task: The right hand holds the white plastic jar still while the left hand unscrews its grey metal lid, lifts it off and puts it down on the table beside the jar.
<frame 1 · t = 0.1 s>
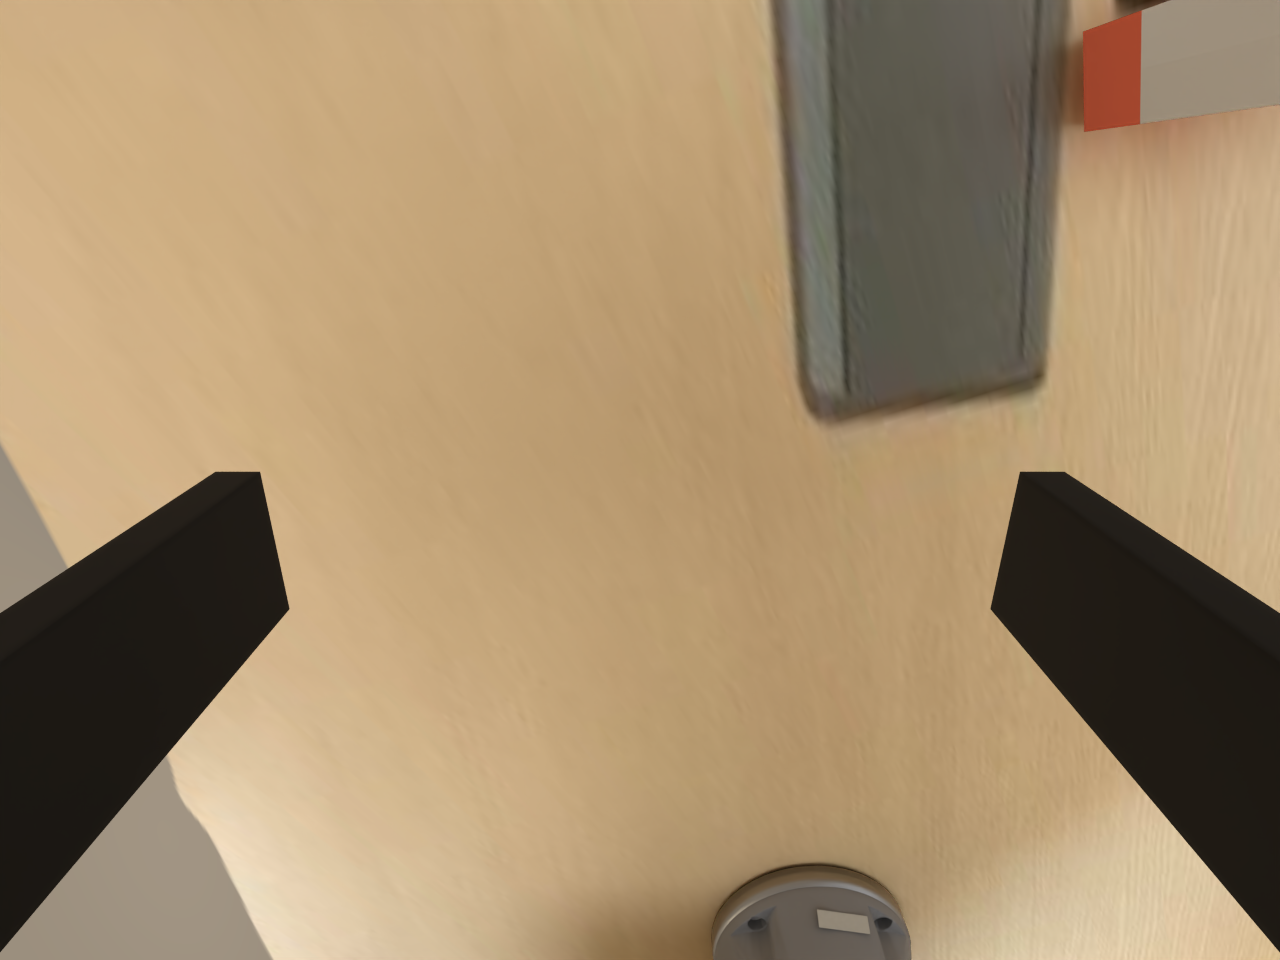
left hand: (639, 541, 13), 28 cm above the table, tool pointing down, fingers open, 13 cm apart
french fries container: (1167, 56, 34), on the table
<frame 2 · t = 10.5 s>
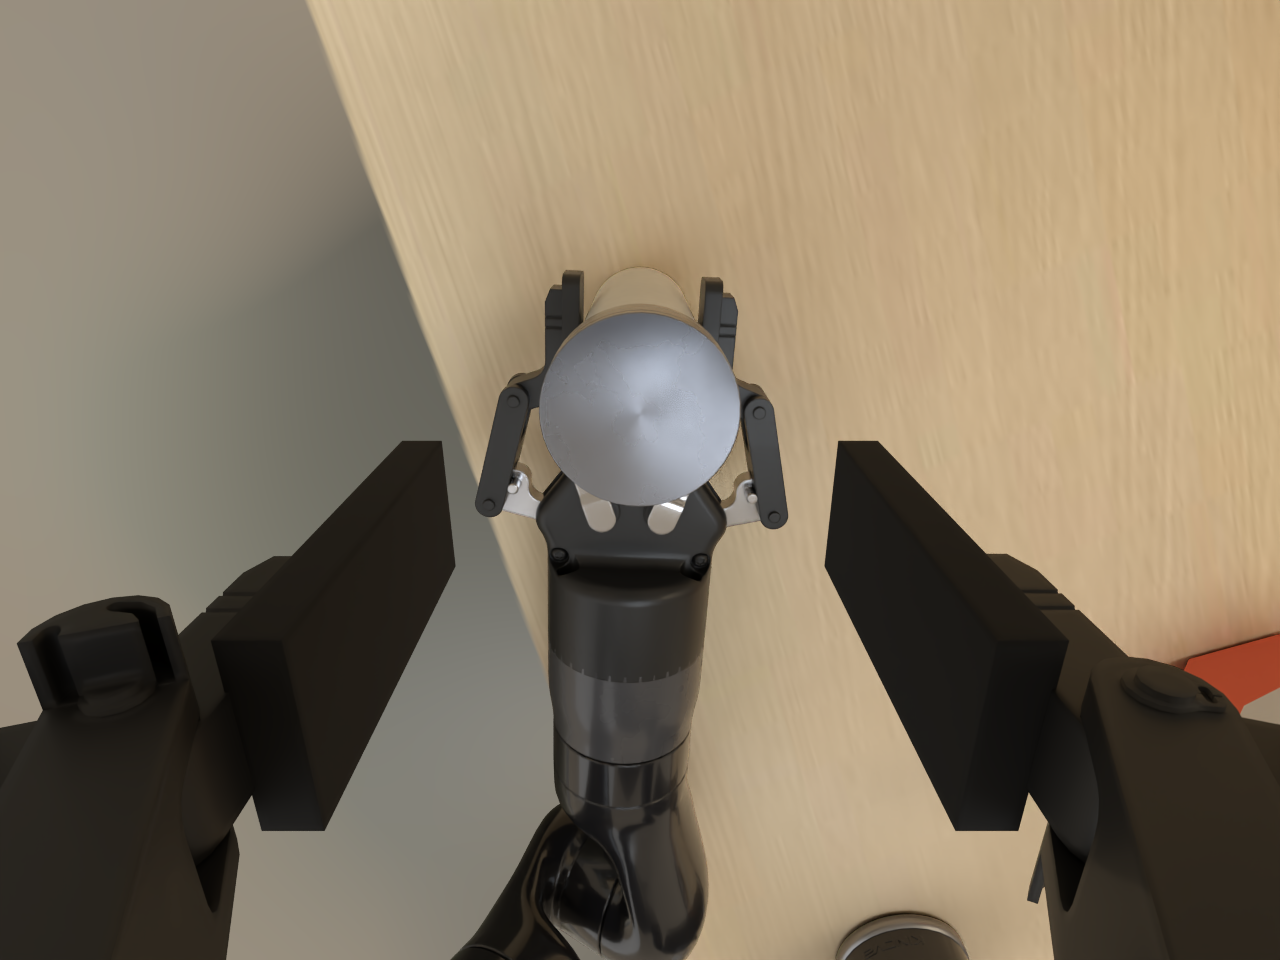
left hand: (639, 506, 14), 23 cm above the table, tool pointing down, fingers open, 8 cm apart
right hand: (642, 277, 28), fingers closed on jar, 5 cm apart
lid: (640, 411, 20), point 16 cm above the table, screwed on, not yet turned
jar: (639, 317, 35), on the table, touching right hand
french fries container: (1235, 672, 43), on the table
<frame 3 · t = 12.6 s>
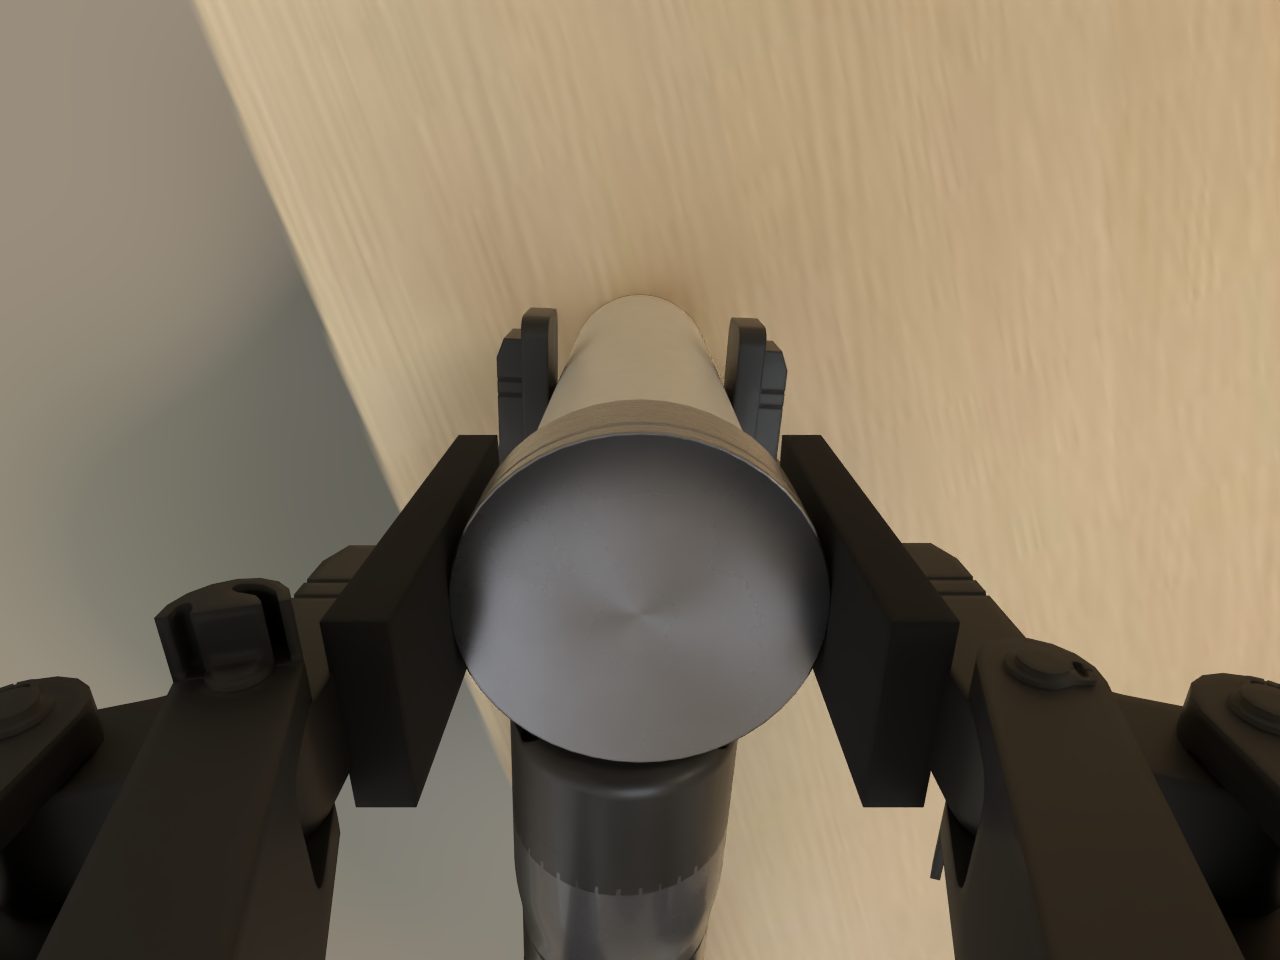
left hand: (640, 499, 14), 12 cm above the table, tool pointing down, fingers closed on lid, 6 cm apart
lid: (639, 601, 11), point 16 cm above the table, screwed on, not yet turned, touching left hand
jar: (639, 362, 26), on the table, touching right hand
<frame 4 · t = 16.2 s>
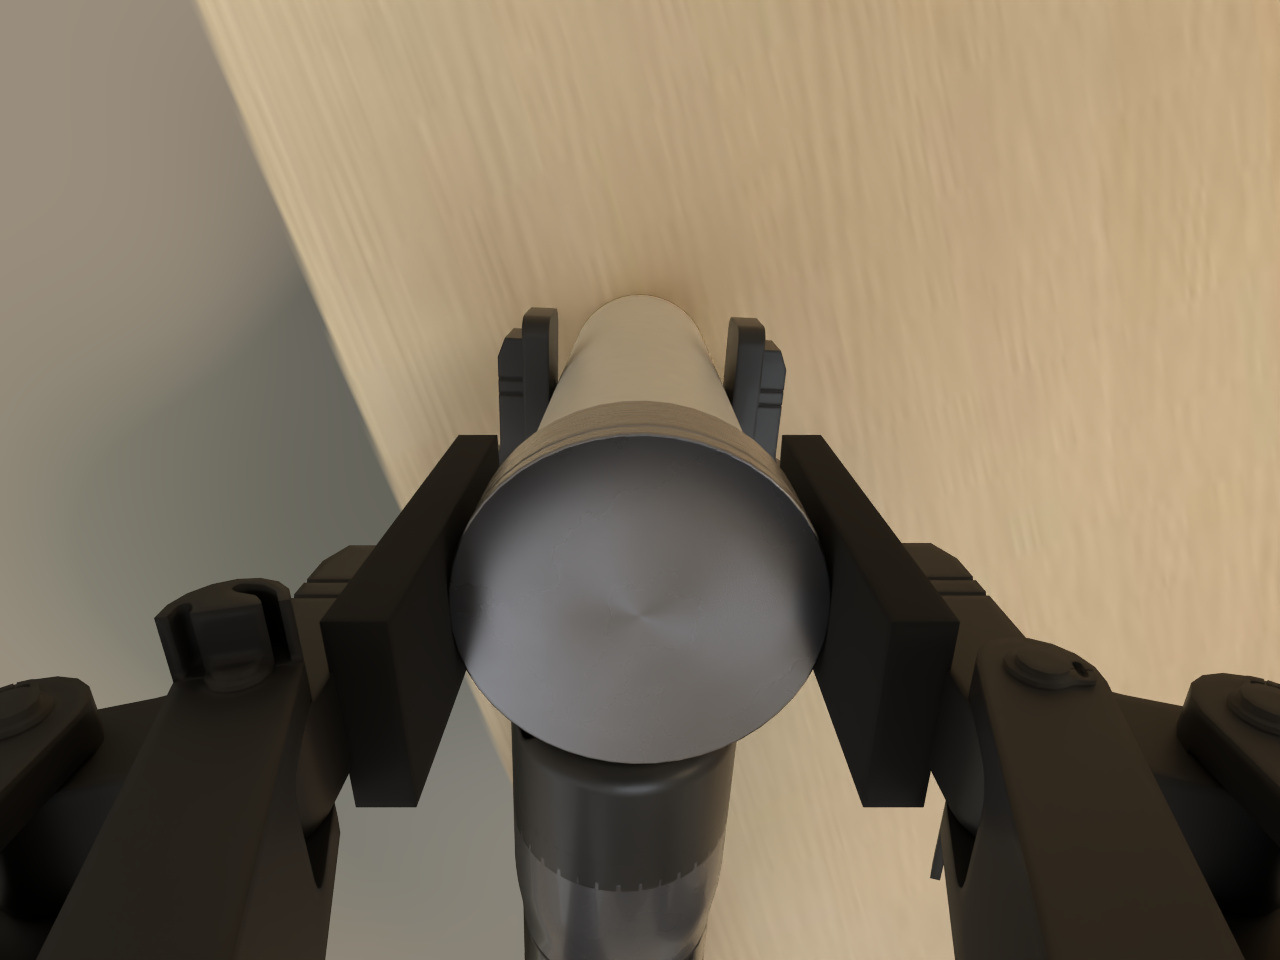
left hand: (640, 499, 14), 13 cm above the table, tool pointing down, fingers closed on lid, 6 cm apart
lid: (639, 603, 11), point 16 cm above the table, turned 118° so far, risen 0.2 cm, still on its thread, touching left hand
jar: (639, 362, 26), on the table, touching right hand
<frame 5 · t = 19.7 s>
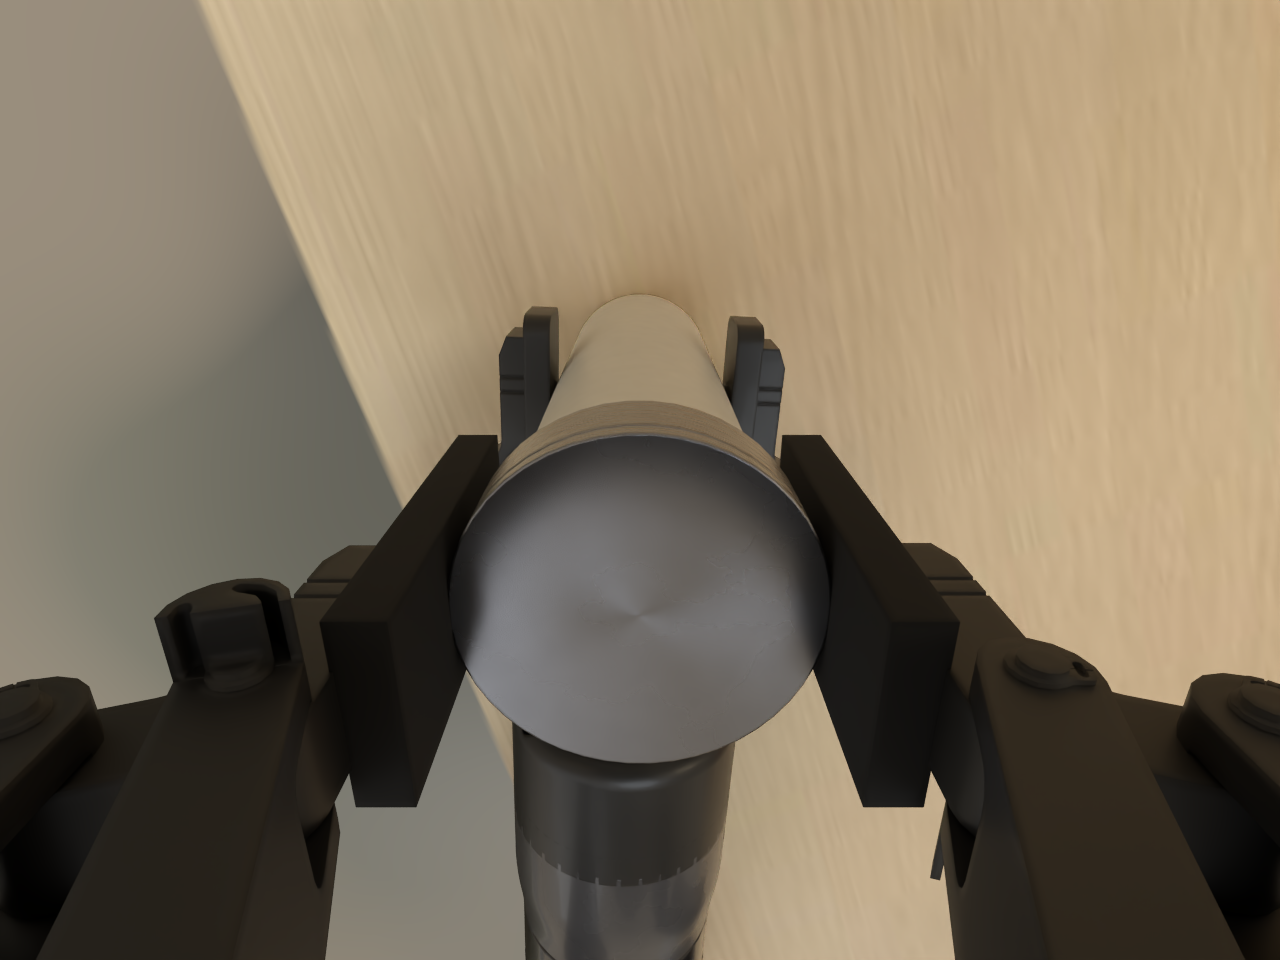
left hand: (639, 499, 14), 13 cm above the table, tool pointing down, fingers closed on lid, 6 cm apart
lid: (639, 602, 11), point 17 cm above the table, turned 237° so far, risen 0.3 cm, still on its thread, touching left hand
jar: (639, 361, 26), on the table, touching right hand
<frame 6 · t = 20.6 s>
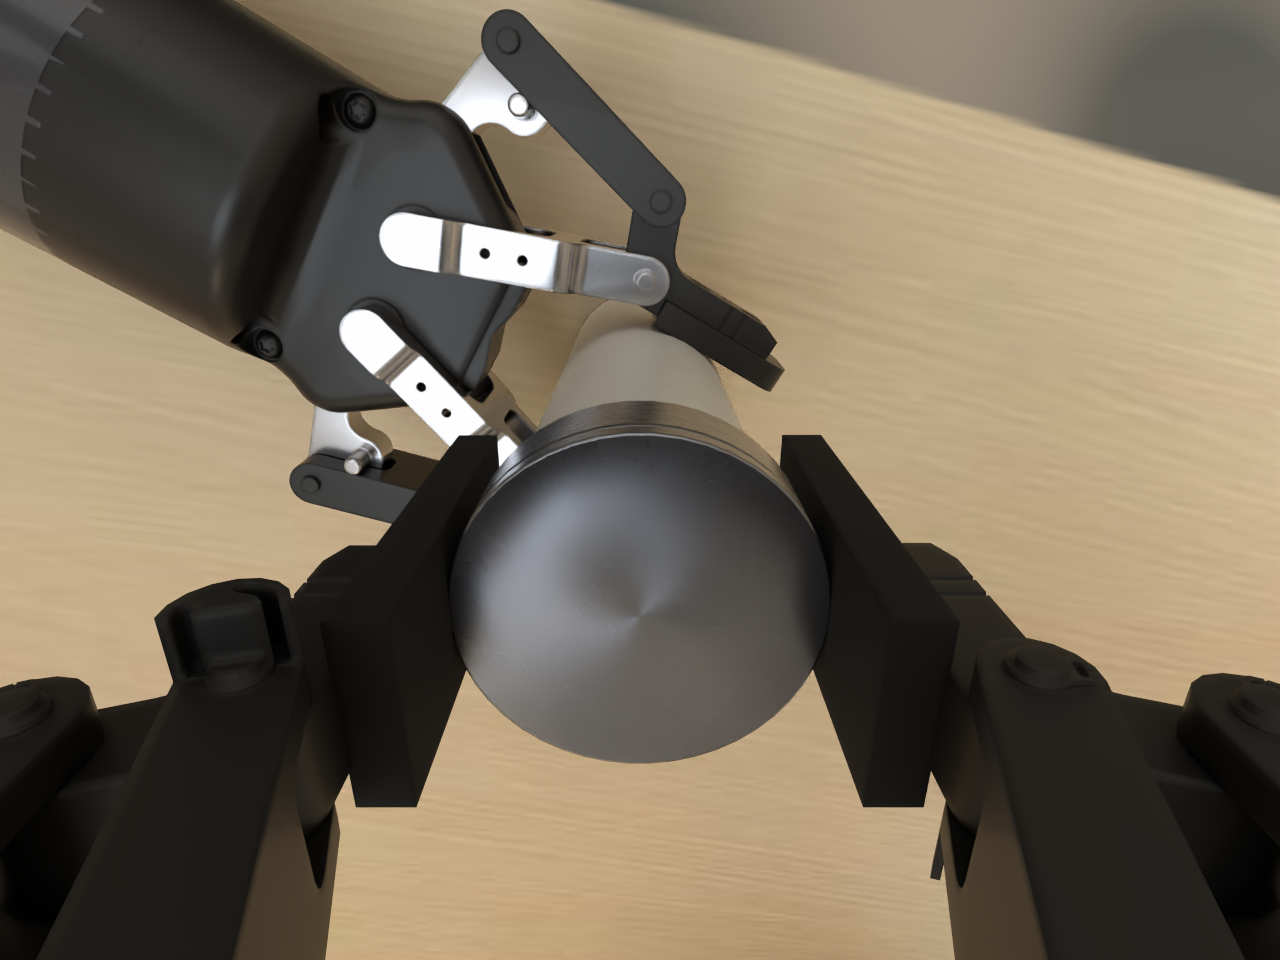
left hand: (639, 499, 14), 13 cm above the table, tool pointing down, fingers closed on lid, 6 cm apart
right hand: (717, 452, 21), fingers closed on jar, 5 cm apart
lid: (639, 602, 11), point 17 cm above the table, off its thread, touching left hand
jar: (639, 359, 26), on the table, touching right hand
when the left hand's fingers open (0 cm above the table, at t = 26.4 s): lid drops 3 cm, point 1 cm above the table.
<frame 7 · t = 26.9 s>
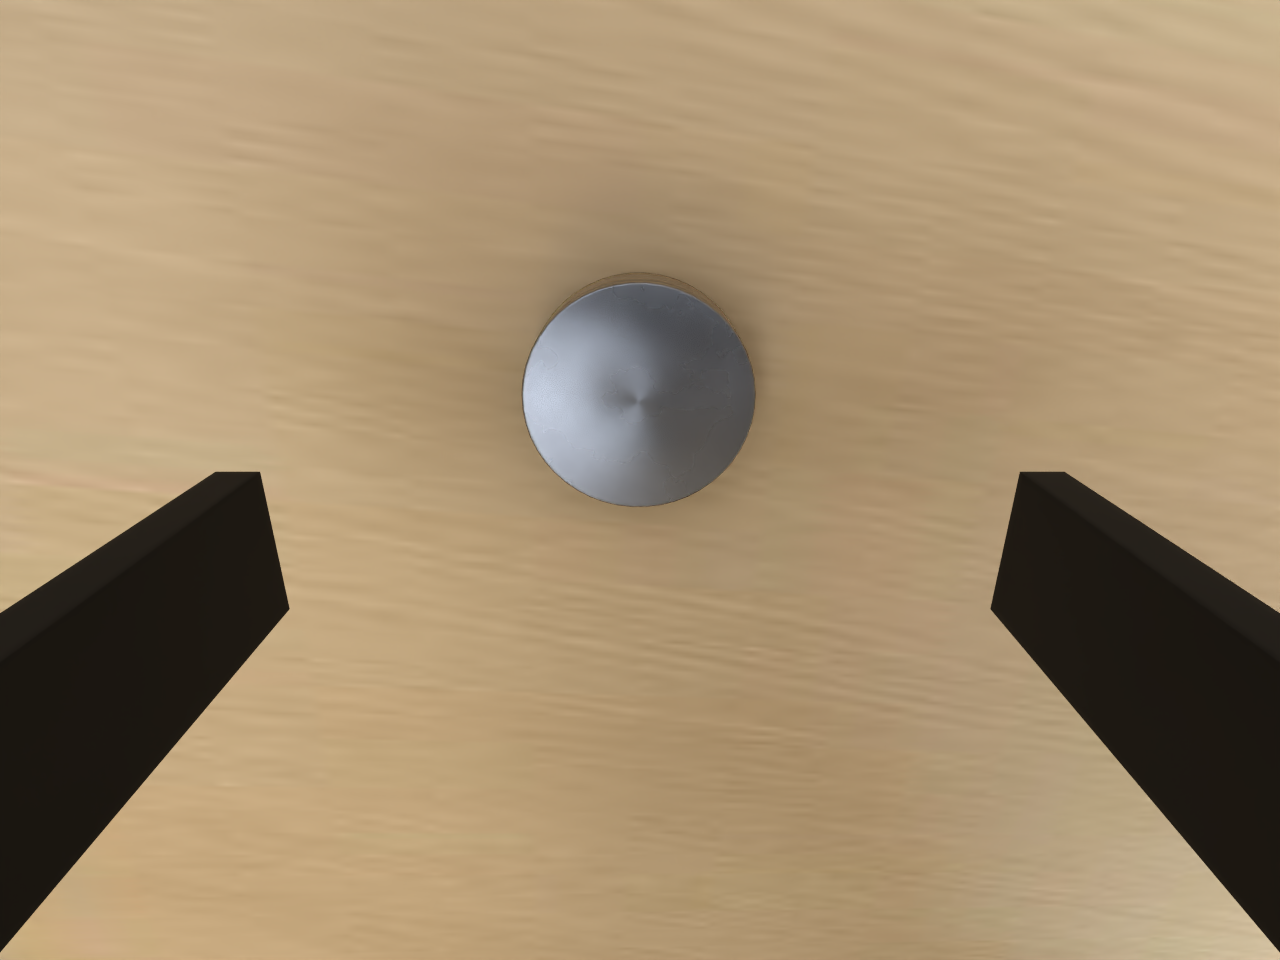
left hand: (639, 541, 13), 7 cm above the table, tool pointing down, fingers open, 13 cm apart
lid: (638, 398, 17), point 1 cm above the table, off its thread
when the right hand's fingers open (7 cm above the table, at t = 27.1 s): jar stays where it is, on the table.
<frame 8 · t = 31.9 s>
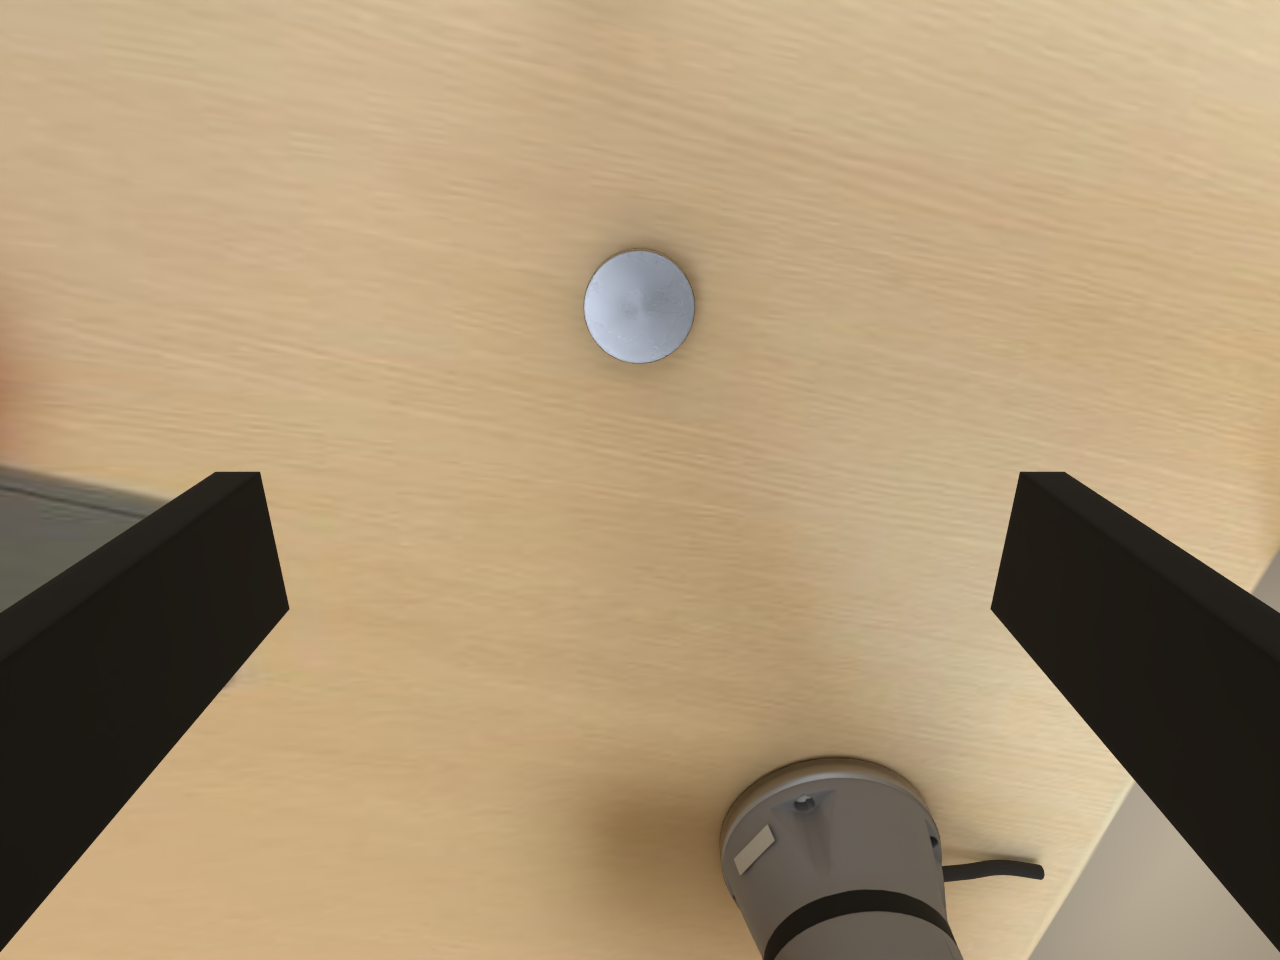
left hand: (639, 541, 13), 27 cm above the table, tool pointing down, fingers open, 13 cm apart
lid: (639, 307, 36), point 1 cm above the table, off its thread
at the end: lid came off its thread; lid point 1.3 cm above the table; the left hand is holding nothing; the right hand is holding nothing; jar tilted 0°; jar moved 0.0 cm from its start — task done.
